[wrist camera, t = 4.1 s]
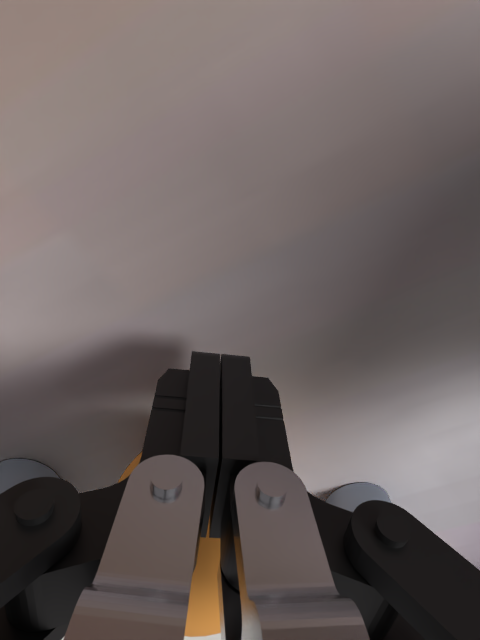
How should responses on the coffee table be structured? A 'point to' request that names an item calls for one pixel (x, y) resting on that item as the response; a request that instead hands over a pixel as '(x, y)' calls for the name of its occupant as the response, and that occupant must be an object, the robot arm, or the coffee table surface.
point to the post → (21, 472)
